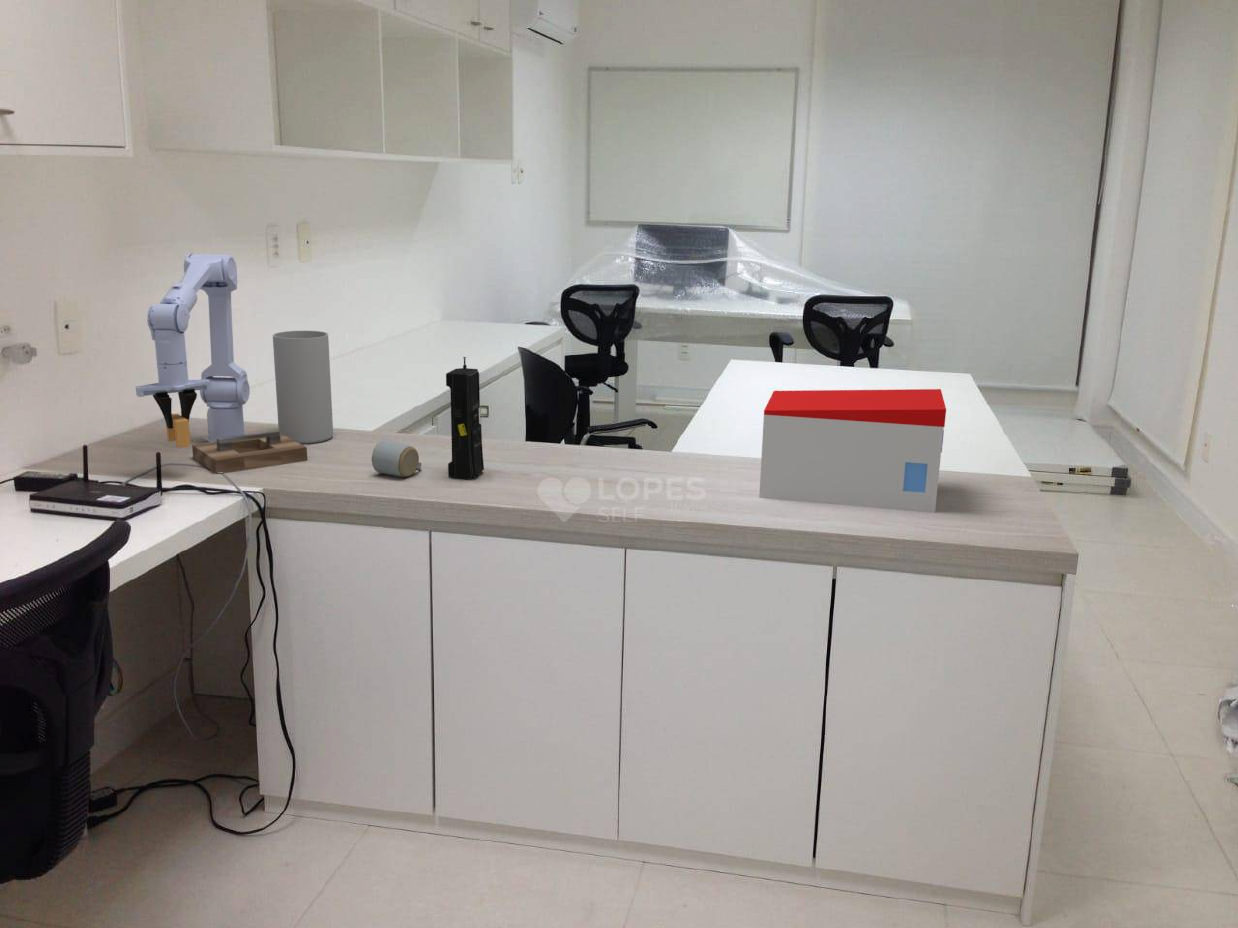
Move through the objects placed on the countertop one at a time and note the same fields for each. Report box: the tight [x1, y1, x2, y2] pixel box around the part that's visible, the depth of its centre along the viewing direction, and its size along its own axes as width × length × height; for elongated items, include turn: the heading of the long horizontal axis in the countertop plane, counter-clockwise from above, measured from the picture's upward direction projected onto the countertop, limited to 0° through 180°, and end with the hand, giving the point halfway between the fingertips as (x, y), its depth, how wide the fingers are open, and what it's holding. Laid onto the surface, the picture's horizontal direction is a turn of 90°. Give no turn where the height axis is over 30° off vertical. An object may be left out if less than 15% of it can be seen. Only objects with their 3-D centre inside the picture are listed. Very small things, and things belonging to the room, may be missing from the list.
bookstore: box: [758, 388, 947, 513], centre depth 227 cm, size 21×35×21 cm, turn 77°
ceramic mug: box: [371, 438, 422, 478], centre depth 235 cm, size 10×8×7 cm
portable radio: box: [445, 356, 485, 481], centre depth 231 cm, size 8×6×25 cm
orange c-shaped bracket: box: [165, 413, 192, 448], centre depth 229 cm, size 7×2×6 cm, turn 38°
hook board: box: [191, 430, 309, 475], centre depth 243 cm, size 16×20×6 cm
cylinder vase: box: [272, 330, 334, 445], centre depth 260 cm, size 12×12×25 cm
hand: (177, 426), depth 229 cm, fingers closed on orange c-shaped bracket, 2 cm apart
